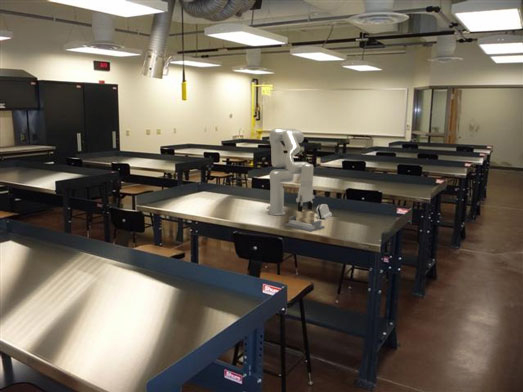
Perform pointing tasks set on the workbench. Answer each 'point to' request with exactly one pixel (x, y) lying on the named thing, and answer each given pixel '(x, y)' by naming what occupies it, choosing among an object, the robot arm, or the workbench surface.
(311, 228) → the track board
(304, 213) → the door panel
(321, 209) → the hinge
